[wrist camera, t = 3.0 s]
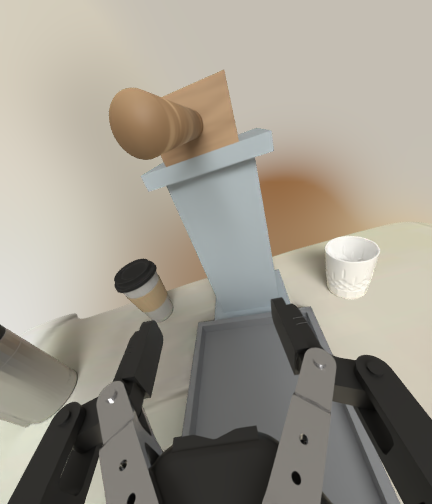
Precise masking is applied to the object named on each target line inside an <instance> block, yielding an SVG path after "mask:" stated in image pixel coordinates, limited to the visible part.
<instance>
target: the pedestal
mask: <svg viewBox="0 0 432 504" xmlns="http://www.w3.org/2000/svg"><path fill="white" fill-rule="evenodd" d="M238 139H239V142H237V143H234V144H231V145H228V146H225V147H222V148H220V149H217V150H214V151H211V152H208V153H205V154H202V155H200V156H197V157H194V158H191V159H188V160H185V161H182V162H180V163H177V164H174V165H171V166H168V167H166V166H165V164H164V162H163V163H162V164H160V165H158V166H157V167H155V168H153V169H152V170H150V171H148V172H147V173H145V174H143V175H142V176H141V178H142V180H143V181H144V183H145V185H146V187H147V189H148V191H152V190H155V189H158V188H161V187H164V186H167V188H168V190H169V193H170V195H171V197H172V199H173V202H174V203H175V206H176V208H177V210H178V213H179V215H180V217H181V219H182V221H183V224H184V226H185V228H186V230H187V233H188V235H189V237H190V239H191V241H192V244H193V246H194V248H195V250H196V253H197V255H198V257H199V259H200V261H201V264H202V266H203V268H204V270H205V273H206V275H207V277H208V279H209V281H210V284H211V286H212V288H213V290H214V293H215V295H216V307H215V320H220V319H227V318H233V317H240V316H247V315H254V314H261V313H268V312H271V299H274V298H279V297H282V298H283V299H284V301H285V303H286V305H287V304H291V303H290V300H289V298H288V295H287V292H286V289H285V286H284V283H283V280H282V278H281V275H280V272H279V269H277V270H274V266H273V260H272V254H271V249H270V242H269V237H268V231H267V225H266V219H265V213H264V208H263V202H262V196H261V191H260V184H259V179H258V173H257V167H256V161H255V157H256V156H259V155H263V154H265V153H269V152H272V151H274V149H273V140H272V132H271V130H266V129H259V128H255V129H252V130H250V131H247V132H244V133H241V134H239V135H238Z"/></svg>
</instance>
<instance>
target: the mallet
mask: <svg viewBox="0 0 432 504" xmlns="http://www.w3.org/2000/svg"><path fill="white" fill-rule="evenodd" d="M109 120H110V126H111V130H112V132H113V135H114V137H115V138H116V140H117V142H118V143H119V145H120V146H121V147H122V148H123V149H124V150H125V151H126V152H127V153H129V154H130V155H132V156H134V157H136V158H139V159H143V160H148V159H153V158H155V157H158V156H160V155H161V157H162V159H163V162H164V164H165V166H166V167H168V166H171V165H174V164H177V163H180V162H182V161H185V160H188V159H191V158H194V157H197V156H200V155H202V154H205V153H208V152H211V151H214V150H217V149H220V148H222V147H225V146H228V145H231V144H234V143H237V142H239V139H238V134H237V129H236V125H235V120H234V115H233V110H232V106H231V101H230V96H229V91H228V86H227V81H226V77H225V72H224V70H222V71H220V72H217V73H215V74H213V75H211V76H208V77H206V78H204V79H202V80H199V81H197V82H195V83H193V84H190V85H188V86H186V87H184V88H182V89H179V90H177V91H175V92H172V93H170V94H168V95H166V96H163V97H159V96H156V95H154V94H151V93H149V92H146V91H144V90H141V89H138V88H126V89H123V90H121V91H120V92H118V93H117V94H116V95H115V97H114V98H113V100H112V102H111V105H110V109H109Z"/></svg>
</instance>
